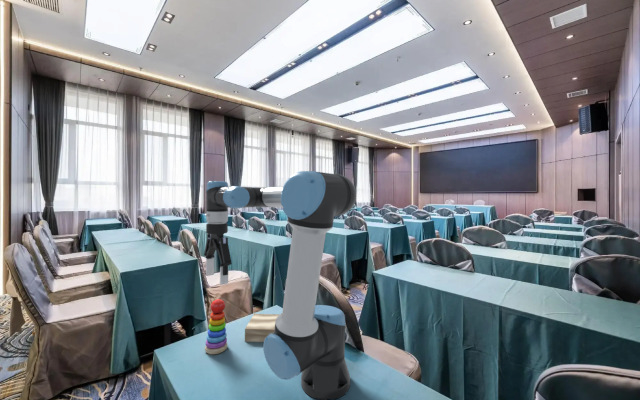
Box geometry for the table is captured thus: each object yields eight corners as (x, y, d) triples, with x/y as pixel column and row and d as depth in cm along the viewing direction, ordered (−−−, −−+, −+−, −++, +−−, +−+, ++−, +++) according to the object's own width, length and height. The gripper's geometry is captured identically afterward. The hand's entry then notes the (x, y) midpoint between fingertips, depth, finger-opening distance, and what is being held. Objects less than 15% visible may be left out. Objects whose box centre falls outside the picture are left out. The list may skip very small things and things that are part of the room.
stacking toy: (212, 358, 98) (212, 305, 97) (200, 350, 103) (200, 300, 102) (231, 348, 104) (232, 299, 104) (219, 341, 109) (219, 294, 109)
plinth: (279, 342, 109) (280, 329, 109) (244, 341, 109) (244, 328, 109) (285, 325, 123) (285, 314, 123) (253, 324, 123) (254, 313, 123)
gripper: (195, 220, 109) (195, 273, 110) (220, 226, 91) (220, 290, 91) (214, 219, 114) (214, 270, 115) (241, 225, 96) (241, 285, 96)
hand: (216, 279), depth 103 cm, fingers open, 13 cm apart
